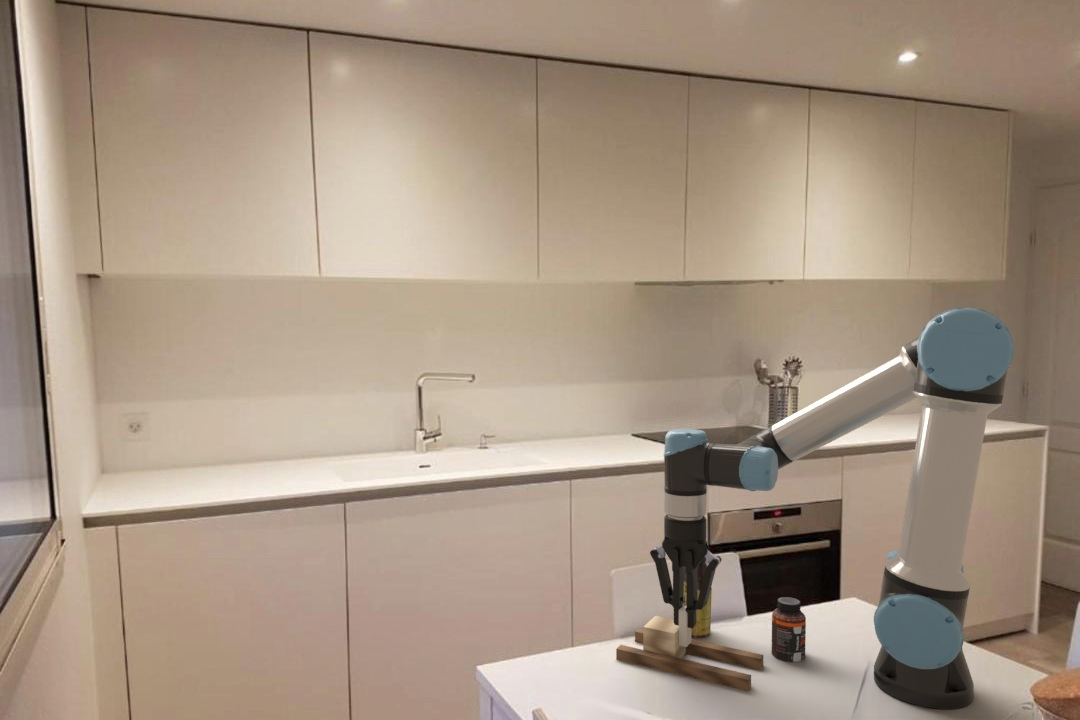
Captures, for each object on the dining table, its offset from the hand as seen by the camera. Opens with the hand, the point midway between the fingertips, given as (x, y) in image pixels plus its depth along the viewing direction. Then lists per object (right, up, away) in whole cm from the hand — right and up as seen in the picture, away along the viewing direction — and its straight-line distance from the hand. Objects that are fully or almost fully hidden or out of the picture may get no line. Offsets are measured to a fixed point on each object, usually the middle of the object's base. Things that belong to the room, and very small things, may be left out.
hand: (684, 643), depth 132 cm
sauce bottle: (+5, -4, +13) cm, 14 cm away
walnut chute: (+1, -4, 0) cm, 4 cm away
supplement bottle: (+20, -4, +3) cm, 20 cm away
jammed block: (-3, -3, +2) cm, 5 cm away
